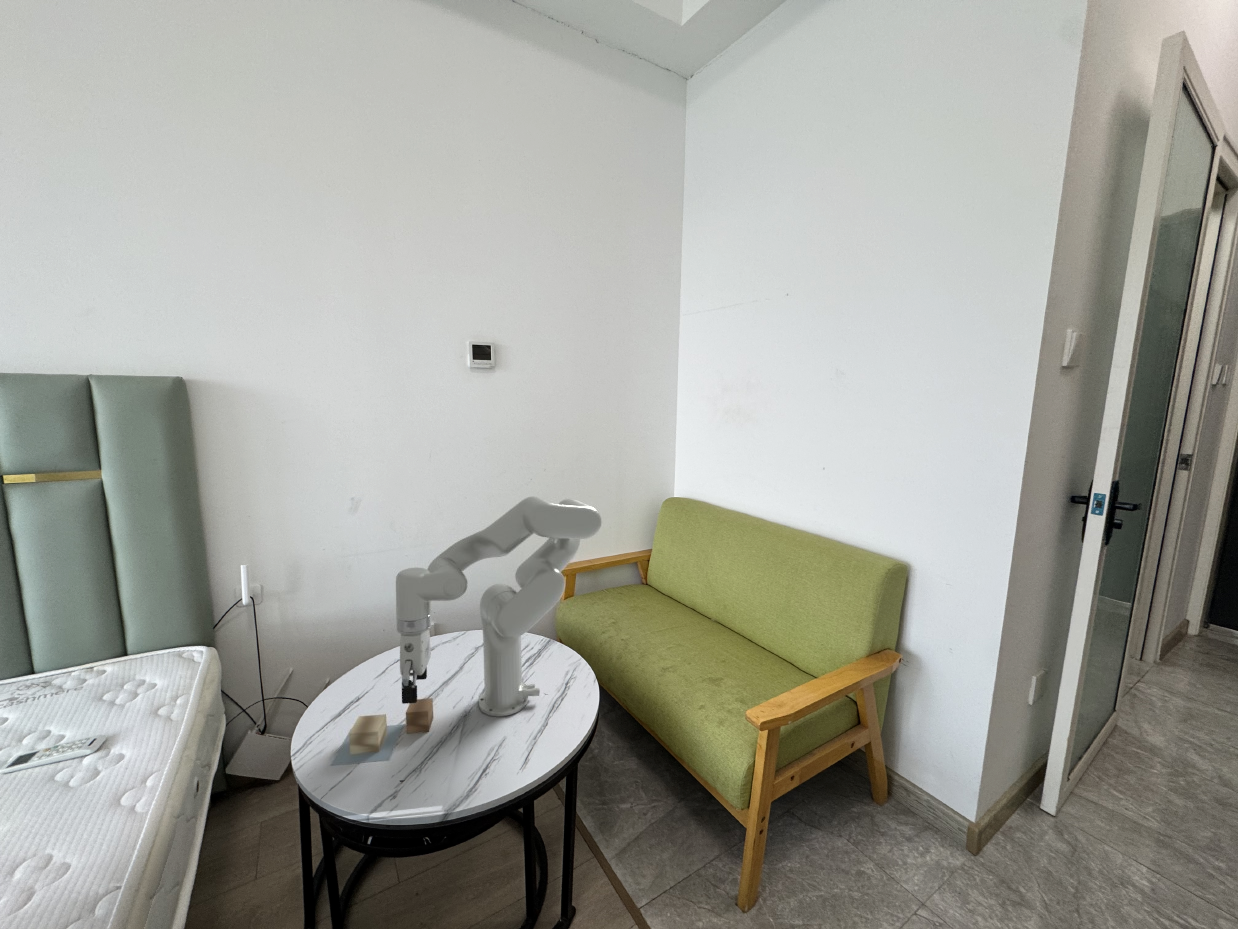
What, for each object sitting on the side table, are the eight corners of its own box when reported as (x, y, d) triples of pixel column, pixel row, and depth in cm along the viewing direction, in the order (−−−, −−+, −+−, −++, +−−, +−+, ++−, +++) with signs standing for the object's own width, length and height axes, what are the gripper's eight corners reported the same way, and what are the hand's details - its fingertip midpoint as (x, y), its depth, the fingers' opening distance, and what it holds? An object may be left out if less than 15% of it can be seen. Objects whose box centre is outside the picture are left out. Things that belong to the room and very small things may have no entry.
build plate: (404, 726, 121) (404, 724, 121) (389, 762, 110) (389, 760, 110) (351, 731, 120) (351, 728, 120) (330, 768, 108) (330, 765, 108)
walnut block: (433, 720, 124) (432, 698, 123) (429, 734, 119) (428, 711, 118) (412, 722, 123) (411, 699, 122) (407, 736, 118) (405, 712, 117)
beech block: (387, 733, 118) (386, 714, 117) (379, 751, 112) (377, 731, 111) (360, 736, 117) (358, 716, 116) (350, 754, 111) (348, 733, 111)
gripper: (422, 638, 109) (423, 712, 111) (438, 606, 126) (438, 670, 128) (385, 640, 108) (387, 713, 110) (406, 607, 125) (407, 671, 127)
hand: (414, 690), depth 119 cm, fingers open, 9 cm apart
